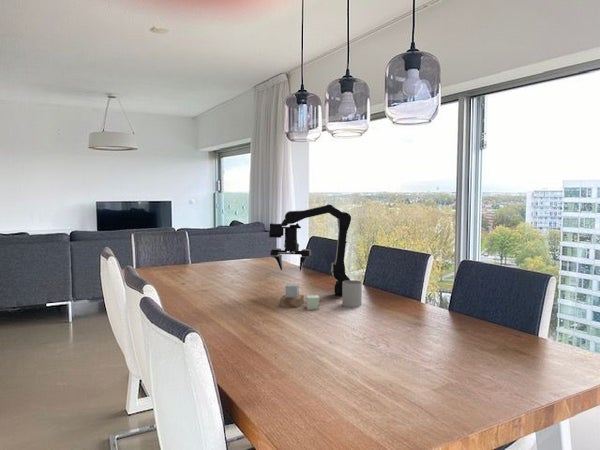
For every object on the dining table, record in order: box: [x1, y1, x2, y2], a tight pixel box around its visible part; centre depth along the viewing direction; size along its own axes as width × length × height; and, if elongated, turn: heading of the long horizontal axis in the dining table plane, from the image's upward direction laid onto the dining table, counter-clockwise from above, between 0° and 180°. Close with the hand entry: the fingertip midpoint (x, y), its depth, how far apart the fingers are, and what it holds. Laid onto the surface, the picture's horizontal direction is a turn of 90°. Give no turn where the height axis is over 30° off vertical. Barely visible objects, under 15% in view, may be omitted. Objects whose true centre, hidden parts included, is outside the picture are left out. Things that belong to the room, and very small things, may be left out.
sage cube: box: [306, 294, 320, 310], centre depth 201 cm, size 5×5×5 cm
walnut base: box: [280, 294, 305, 308], centre depth 206 cm, size 8×8×4 cm
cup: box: [341, 279, 363, 308], centre depth 206 cm, size 8×8×10 cm
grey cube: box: [284, 283, 300, 298], centre depth 206 cm, size 5×5×5 cm
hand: (290, 270), depth 223 cm, fingers open, 9 cm apart
